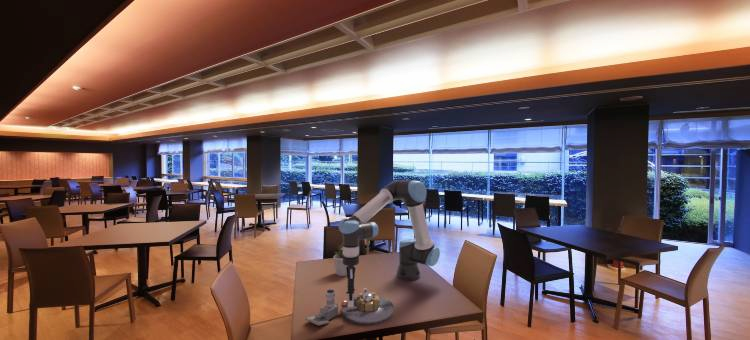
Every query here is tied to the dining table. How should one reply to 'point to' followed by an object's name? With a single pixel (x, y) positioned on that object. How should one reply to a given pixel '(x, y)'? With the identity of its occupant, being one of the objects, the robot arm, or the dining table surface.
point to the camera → (326, 310)
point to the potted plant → (340, 263)
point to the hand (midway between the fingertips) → (350, 306)
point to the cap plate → (372, 316)
